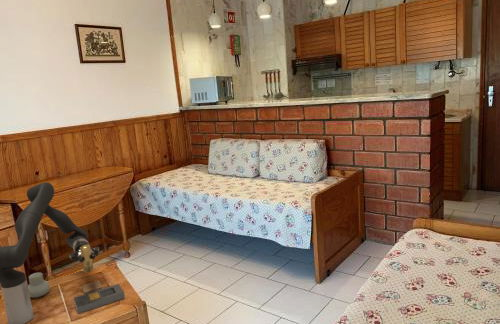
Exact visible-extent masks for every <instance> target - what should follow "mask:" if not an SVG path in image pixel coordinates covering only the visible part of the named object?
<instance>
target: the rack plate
mask: <svg viewBox="0 0 500 324" xmlns="http://www.w3.org/2000/svg"><path fill="white" fill-rule="evenodd" d="M125 298H126V295H125V291H124V290H123V288H122V286H121V285H120V283H116V284H114V285H113V284H112V285H109V286H107V287H104V288H103V287H102V289H100V290H97V291H94V292H90V293H87V294H84V293H83V294H81V295H77V296H74V297H73V302H74V305H75V308H76V312H77V314H78V315H80V314H83V313H86V312H88V311H91V310H95V309H97V308H99V307H103V306H106V305H109V304H111V303H115V302H117V301H121V300H124V299H125Z"/></svg>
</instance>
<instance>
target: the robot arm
mask: <svg viewBox="0 0 500 324" xmlns="http://www.w3.org/2000/svg"><path fill="white" fill-rule="evenodd" d="M54 196H55V188H54V185H52V183H50V182H41V183H38V184H36V185H33V186H31V187H29V188H28V189H27V191H26V197H27V199H28V200H29V202H30V203H29V204H27V206H26V207H24V209H22V211H21V212H20V213H19V215H18V217H17V218H16V221H15V224H14V230H15V232H16V234H17V236H18V241H17V243H16V244H14V245H5V246H0V287H1V293H2V298H3V302H4V309H5V313H6V314H5V315H6V318H7V323H8V324H27V323H29V322H30V321H31V320H33V319H34V316H35V315H34V310H33V306H32V300H31V297H30V295H29V290H28V282H27V277H26V273H24V272H23V271H20V270H17V269H18V268H21V267H22V266H23V265H24V263H25V262H26V259H27V257H28V253H29V250H30V246H31V244H32V241H33V238H34V237H35V234H36V232H37V229H38V228H39V225H40V224H41V221H42V218H43V217H44V215H46V217H48V218H49V219H50V220H51V221H52V222H53V223H54V224H55V225H56V227H57V228H58V229H59V230H60V231H61V233H62V234H65V235H67V234H70V233H71V234H70V235H68V236H67V238H66V244H67V245H68V246H69V247H70V248H72V249H73V252H74V253H72V252H70V253H68V256H69V259H70V260H72V261H74V262H77V261H79V263H81V264H82V262H83V259H82V256H81V251H80V246H82V245H86V244H89V245H90V243H89V241H88V238H89V237H88V233H87V232H86V231H85V230H84V229H83V228H81V227H79V226H78V225H76V224H75V223H74V221H73V220H72V219H71V217H69V215H68V214H66V213H65V212H63V211H62V210H59V209H57V208H55V207H52V206H51V205H50V203H51V201H52V200H53V198H54ZM90 249H91V255H92V260H95V258H96V256H98V255H99V253H100V248H99V246H98V245H97V246H95V247H92V246H91V245H90Z"/></svg>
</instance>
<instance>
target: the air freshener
mask: <svg viewBox="0 0 500 324" xmlns="http://www.w3.org/2000/svg"><path fill="white" fill-rule="evenodd" d="M28 281H29V284H27V286H28V290H29V295H30V298H40V297H42V296H45V295H46V294H47V293H48V292H49V291H50V290H51V287H50V283H49V281H47V280H45V279H44V275H43V273H42V272H39V271H38V272H34V273H31V274H30V275H29V276H28Z"/></svg>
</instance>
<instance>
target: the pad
mask: <svg viewBox="0 0 500 324" xmlns="http://www.w3.org/2000/svg"><path fill="white" fill-rule="evenodd" d="M100 289H103V286H102V284H101V282H100V280H96V281H92V282H90V283H89V282H88V283H85V284H83V285H81V291H82V293H83V295H84V294H87V293H90V292H94V291H97V290H100Z"/></svg>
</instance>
